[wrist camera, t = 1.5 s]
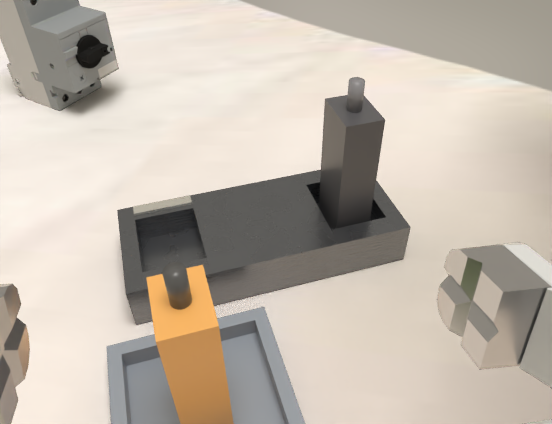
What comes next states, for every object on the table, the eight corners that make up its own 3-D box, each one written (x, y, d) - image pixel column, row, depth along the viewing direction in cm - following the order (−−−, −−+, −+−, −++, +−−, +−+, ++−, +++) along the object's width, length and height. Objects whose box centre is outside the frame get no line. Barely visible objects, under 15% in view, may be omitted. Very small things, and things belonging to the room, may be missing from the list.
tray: (264, 323, 41) (263, 306, 39) (315, 472, 32) (317, 457, 31) (113, 362, 38) (106, 346, 37) (125, 534, 30) (117, 522, 28)
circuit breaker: (93, 123, 64) (57, 2, 54) (19, 96, 69) (-27, -19, 59) (134, 97, 69) (108, -18, 59) (61, 73, 74) (26, -36, 64)
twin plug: (349, 202, 50) (364, 65, 40) (367, 232, 46) (389, 91, 37) (318, 209, 49) (326, 71, 39) (335, 239, 46) (348, 98, 36)
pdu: (358, 192, 53) (362, 159, 50) (403, 259, 46) (410, 225, 43) (126, 241, 48) (116, 208, 45) (136, 324, 41) (125, 291, 38)
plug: (220, 374, 37) (198, 234, 27) (234, 431, 34) (214, 296, 24) (177, 386, 36) (138, 247, 27) (187, 446, 33) (146, 312, 23)
